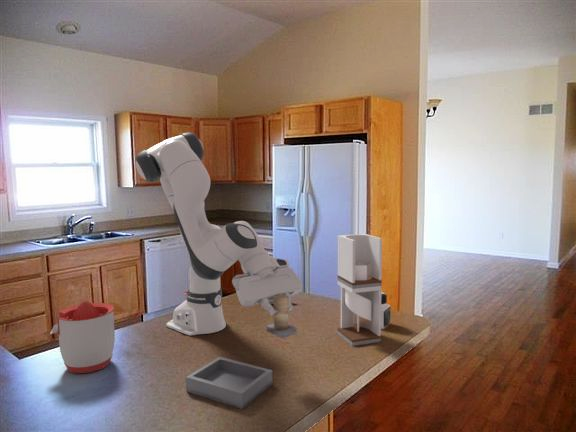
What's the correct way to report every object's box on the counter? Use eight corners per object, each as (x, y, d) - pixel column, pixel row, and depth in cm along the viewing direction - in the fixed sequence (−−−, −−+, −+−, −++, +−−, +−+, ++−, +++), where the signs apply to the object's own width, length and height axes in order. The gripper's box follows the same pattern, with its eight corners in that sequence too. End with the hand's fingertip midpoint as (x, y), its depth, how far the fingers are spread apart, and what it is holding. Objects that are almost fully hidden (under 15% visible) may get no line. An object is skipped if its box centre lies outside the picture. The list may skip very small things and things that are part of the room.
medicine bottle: (383, 329, 157) (384, 297, 156) (365, 326, 161) (365, 294, 160) (390, 323, 163) (390, 292, 162) (372, 320, 167) (372, 289, 166)
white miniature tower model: (337, 333, 154) (337, 235, 150) (364, 329, 157) (365, 233, 153) (352, 345, 143) (352, 240, 139) (380, 341, 146) (382, 238, 143)
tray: (186, 391, 115) (185, 376, 115) (219, 369, 127) (219, 356, 127) (242, 409, 106) (241, 393, 106) (272, 384, 118) (272, 370, 118)
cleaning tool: (266, 331, 121) (265, 295, 120) (280, 326, 124) (279, 292, 123) (282, 338, 116) (282, 301, 114) (296, 333, 119) (296, 297, 118)
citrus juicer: (55, 361, 134) (51, 297, 132) (116, 351, 141) (112, 290, 139) (50, 383, 120) (45, 313, 118) (118, 371, 127) (114, 304, 125)
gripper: (233, 269, 116) (256, 314, 110) (291, 259, 130) (314, 298, 123) (225, 283, 120) (246, 326, 114) (282, 271, 133) (304, 310, 127)
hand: (282, 312), depth 119 cm, fingers closed on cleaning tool, 4 cm apart
